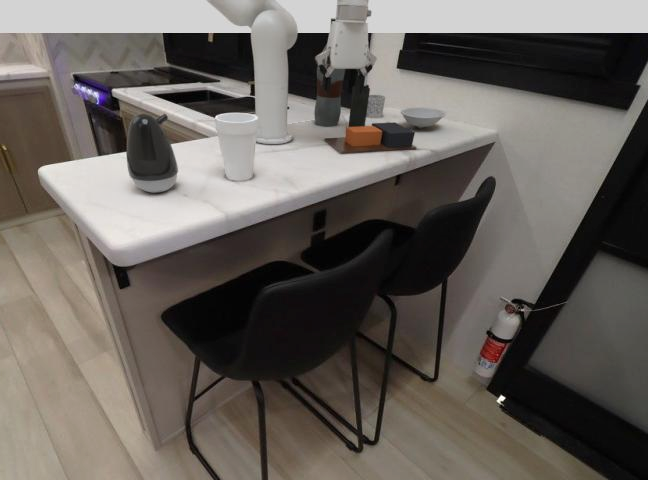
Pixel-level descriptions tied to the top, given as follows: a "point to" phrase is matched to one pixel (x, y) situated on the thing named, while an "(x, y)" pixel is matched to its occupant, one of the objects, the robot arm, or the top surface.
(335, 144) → the board
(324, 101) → the bottle
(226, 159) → the foam cup
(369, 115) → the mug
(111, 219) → the top surface
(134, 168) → the pump dispenser
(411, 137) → the back pad
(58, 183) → the top surface
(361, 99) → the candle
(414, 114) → the dish
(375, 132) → the loose pad
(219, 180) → the top surface
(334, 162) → the top surface
